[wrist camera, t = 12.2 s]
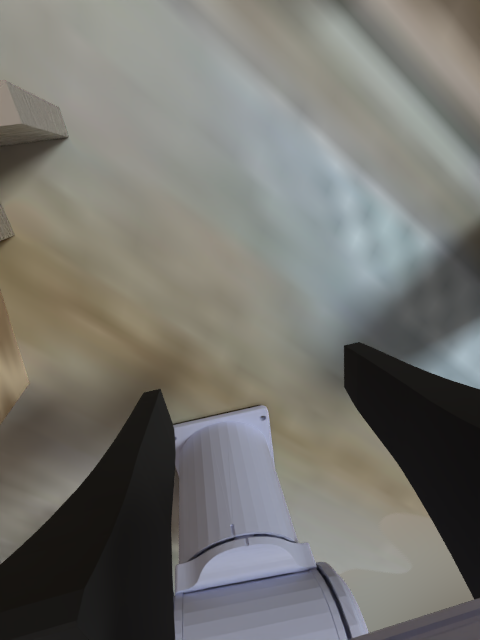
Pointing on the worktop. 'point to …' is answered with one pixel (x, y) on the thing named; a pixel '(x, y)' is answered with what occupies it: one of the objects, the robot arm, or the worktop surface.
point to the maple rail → (9, 365)
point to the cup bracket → (25, 126)
